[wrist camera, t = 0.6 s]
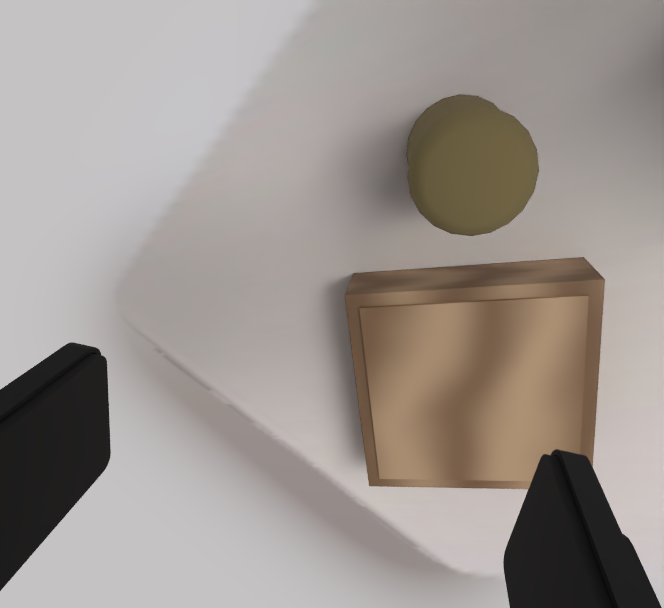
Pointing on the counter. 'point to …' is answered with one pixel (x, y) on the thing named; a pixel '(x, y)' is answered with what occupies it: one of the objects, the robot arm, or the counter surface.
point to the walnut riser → (475, 370)
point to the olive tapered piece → (470, 165)
